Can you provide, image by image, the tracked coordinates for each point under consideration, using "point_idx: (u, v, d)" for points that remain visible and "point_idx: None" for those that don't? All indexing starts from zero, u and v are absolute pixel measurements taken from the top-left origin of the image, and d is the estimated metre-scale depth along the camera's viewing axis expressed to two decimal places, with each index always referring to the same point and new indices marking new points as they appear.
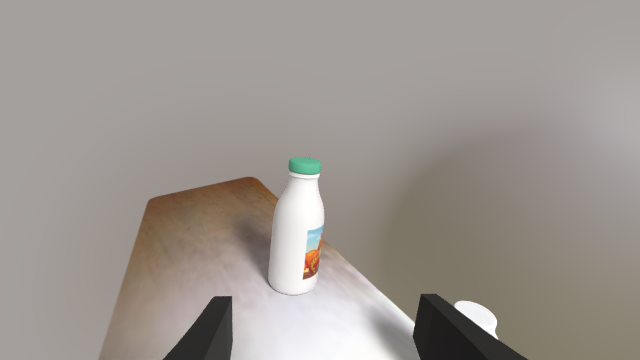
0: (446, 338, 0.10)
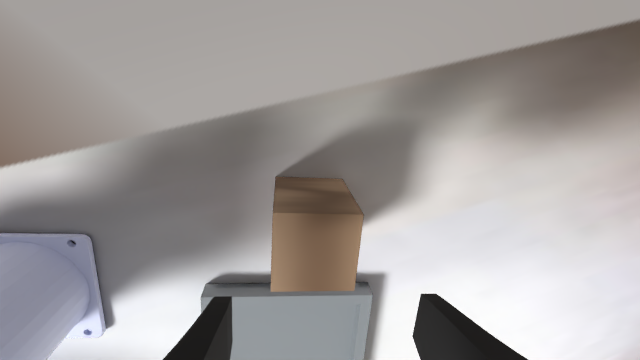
0: (446, 338, 0.10)
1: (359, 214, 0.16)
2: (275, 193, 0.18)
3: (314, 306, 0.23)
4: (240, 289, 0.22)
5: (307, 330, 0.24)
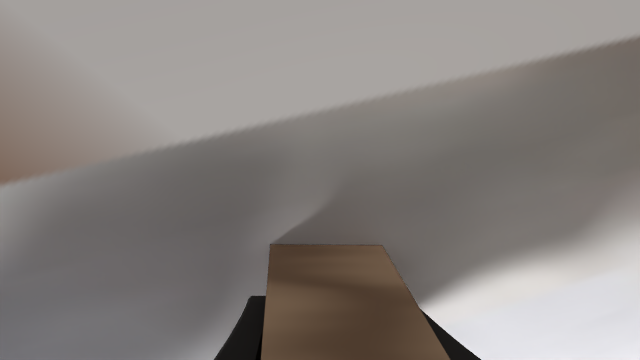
0: None
1: None
2: (267, 301, 0.09)
3: None
4: None
5: None
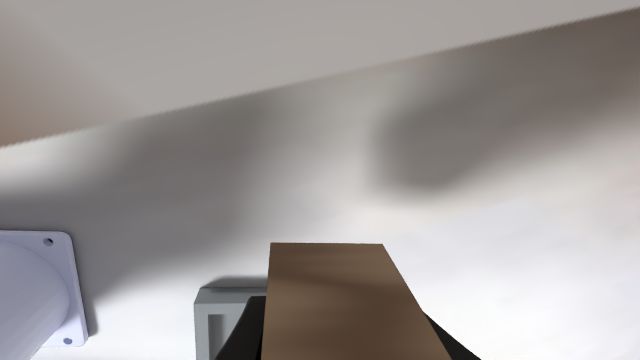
0: None
1: None
2: (268, 298, 0.09)
3: None
4: (238, 294, 0.20)
5: None
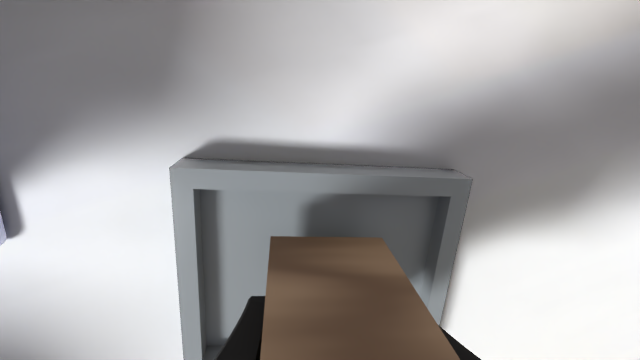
0: None
1: None
2: (268, 288, 0.09)
3: (368, 205, 0.14)
4: (242, 165, 0.13)
5: None
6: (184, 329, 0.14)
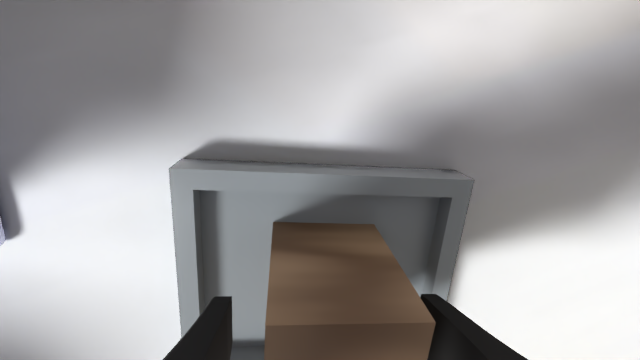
0: (446, 338, 0.10)
1: (427, 321, 0.08)
2: (271, 264, 0.10)
3: (369, 206, 0.14)
4: (242, 165, 0.12)
5: None
6: (184, 330, 0.14)
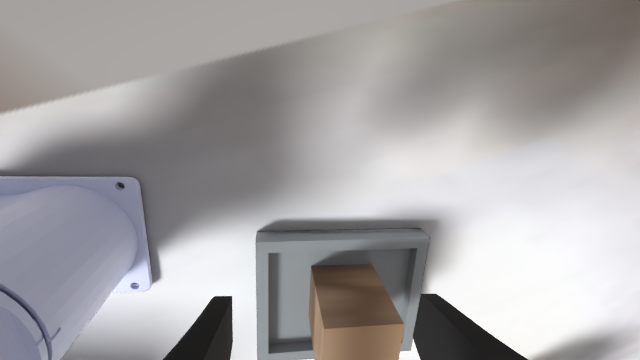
0: (446, 338, 0.10)
1: (400, 323, 0.17)
2: (318, 295, 0.19)
3: (368, 253, 0.23)
4: (294, 235, 0.21)
5: None
6: (258, 334, 0.22)
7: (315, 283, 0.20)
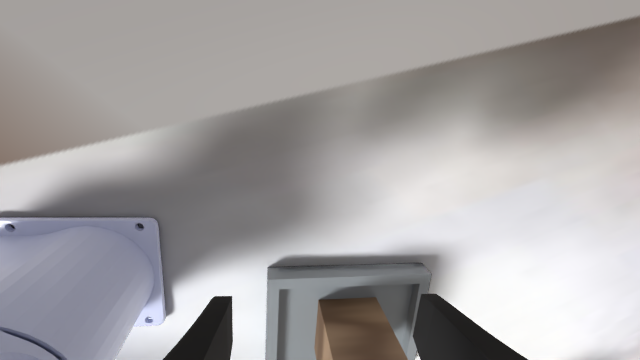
0: (446, 338, 0.10)
1: None
2: (327, 332, 0.20)
3: (373, 288, 0.24)
4: (303, 271, 0.22)
5: None
6: None
7: (323, 319, 0.21)
